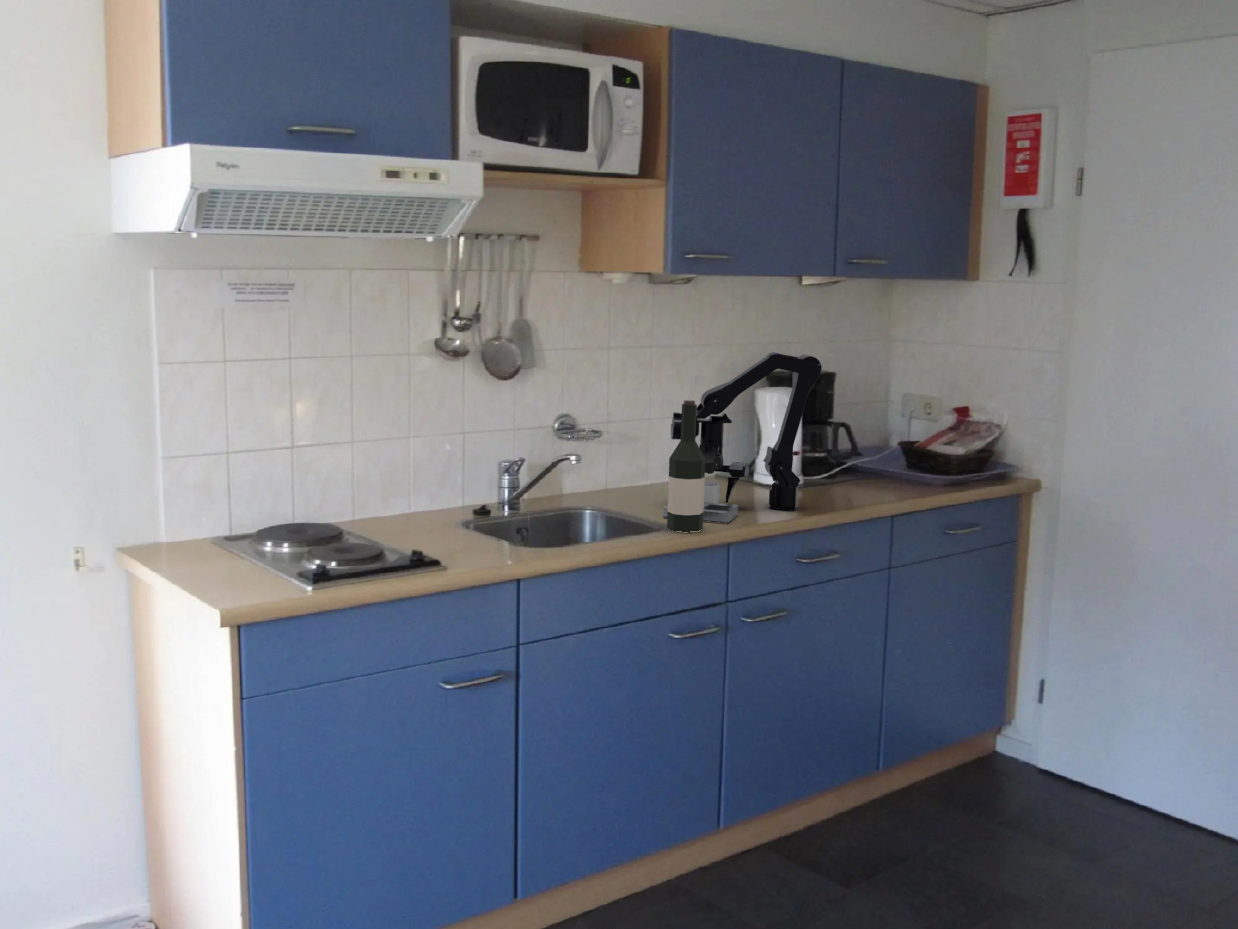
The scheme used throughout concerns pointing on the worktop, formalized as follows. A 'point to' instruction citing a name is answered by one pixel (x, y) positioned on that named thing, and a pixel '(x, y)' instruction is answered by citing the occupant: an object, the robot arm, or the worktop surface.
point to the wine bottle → (686, 477)
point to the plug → (711, 492)
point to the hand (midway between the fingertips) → (709, 501)
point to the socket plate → (715, 512)
